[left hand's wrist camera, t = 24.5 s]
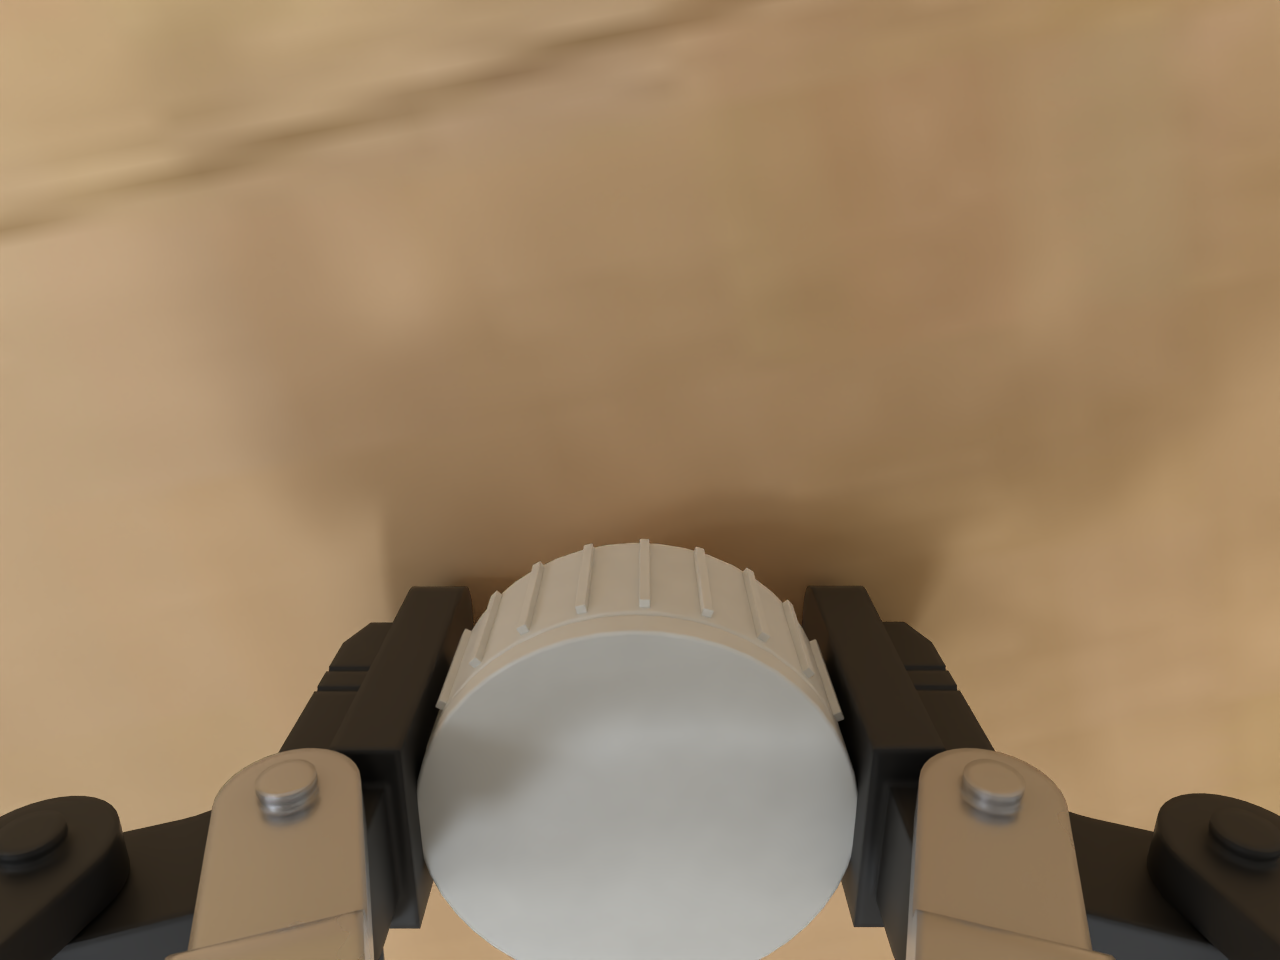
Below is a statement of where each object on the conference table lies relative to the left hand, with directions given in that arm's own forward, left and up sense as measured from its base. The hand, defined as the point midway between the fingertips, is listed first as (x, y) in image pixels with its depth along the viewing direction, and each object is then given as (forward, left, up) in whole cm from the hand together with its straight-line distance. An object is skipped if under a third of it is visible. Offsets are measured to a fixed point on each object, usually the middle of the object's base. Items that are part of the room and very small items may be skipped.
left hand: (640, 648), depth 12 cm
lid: (0, 0, +3) cm, 3 cm away
